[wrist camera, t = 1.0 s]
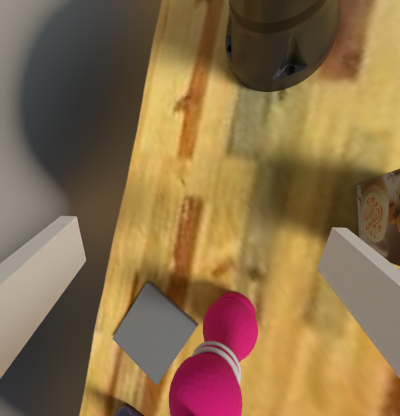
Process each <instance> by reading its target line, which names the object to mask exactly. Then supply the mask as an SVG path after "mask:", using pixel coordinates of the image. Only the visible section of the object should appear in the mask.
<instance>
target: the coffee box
mask: <svg viewBox="0 0 400 416" xmlns="http://www.w3.org/2000/svg"><path fill="white" fill-rule="evenodd" d="M357 207H358V226H359V238H360V239H361V240H362V241H364V242H365V243H366V244H367V245H369V246H370V247H371V248H373V249H374V250H375V251H376V252H378V253H379V254H380V255H381V256H383V257H384V258H385V259H386V260H388V261H389V262H390V263H393V264H395V265H398V266H400V169H398V170H395V171H392V172H390V173H387V174H384V175H382V176H379V177H377V178H374V179H371V180H369V181H366V182H364V183H361V184H358V185H357Z"/></svg>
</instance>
